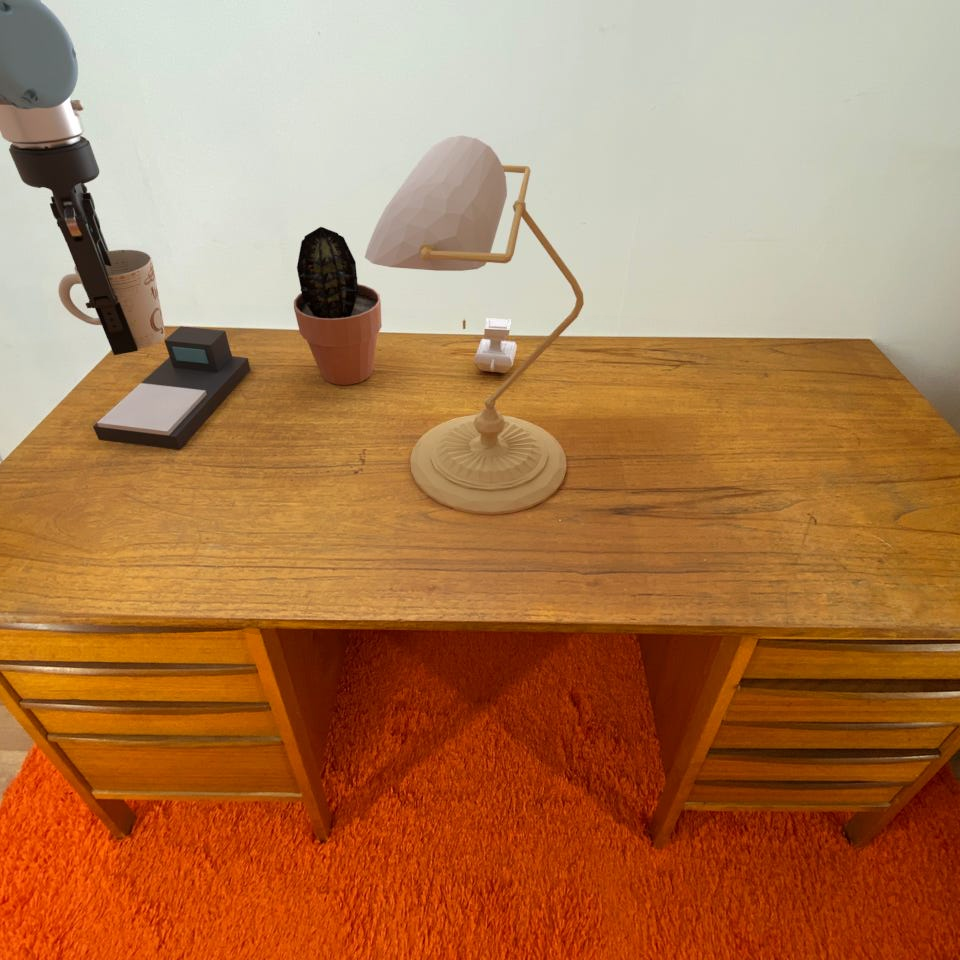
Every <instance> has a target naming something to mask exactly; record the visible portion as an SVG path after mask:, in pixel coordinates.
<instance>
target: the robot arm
mask: <svg viewBox="0 0 960 960" xmlns="http://www.w3.org/2000/svg"><path fill="white" fill-rule="evenodd" d="M78 76H79V63H78V59H77V53H76V51H75V47H74V44H73V41H72V38H71V36H70V34H69V32H68V30H67V29H66V27H65V25H64V24H63V22H62V21H61V20H60V18H58V16H57V15H56V14H55V13H54V11H52V10H51V9H50V7H48V6H46V4H44V3H43V2H42V1H41V0H0V134H1V137H2V138H3V139H4V140H5V141H7V142H8V143H11V144H10V146H9V148H8V151H9V154H10V156H11V159H12V161H13V163H14V165H15V168H16V170H17V173H18V175H19V178H20V179H21V181H22V182H23V183H24V184H25V185H27V186H29V187H32V188H36V189H42V188H45V189H48V190H50V191H51V192H52V195H51V196H50V200H51V202H50V203H49V206H50V209H51V212H52V215H53V217H54V219H55V220H56V226H57V227H58V228H59V230H60V232H61V234H62V236H63V238H64V241H65V243H66V245H67V247H68V250H69V253H70V255H71V258H72V261H73V263H74V267H75V266H76V268H77V271H78V273H79V276H80V278H81V281H82V283H83V286H84V288H85V289H84V288H83V289H84V291H85V293H86V295H87V298H88V302H85V306H86V308H87V309H95V312H96V314H97V318H99V319H100V322H101V324H102V325H101V327H102V329H103V331H104V334H105V337H106V339H107V342H108V343H109V346H110V349H111V351H112V354H113V356H118V355H124V354H129V353H135V352H138V350H139V349H138V348H137V345H136V343H135V340H134V338H133V335H132V333H131V330H130V328H129V325H128V323H127V320H126V318H125V315H124V312H123V310H122V307H121V305H120V303H119V302H117V301H118V298H117V296H115V293H114V291H113V288H112V286H111V283H110V281H109V278H108V276H109V275H108V272H107V269H106V266H105V265H108V266H112V265H111V263H110V260H109V257H108V254H107V251H110V250H109V247H108V245H107V242H106V239H105V237H104V234H103V231H102V229H101V223H100V219H99V217H98V214H97V212H96V205H95V201H94V199H93V195H92V194H91V192H88V187H87V186H86V185H85V184H87V183H90V182H92V181H94V180H96V179H97V178H98V177H99V176H100V168H99V165H98V162H97V158H96V156H95V154H94V150H93V147H92V146H91V142H90V141H89V139H87V138H86V137H84V136H82V135H83V134H84V132H85V127H84V124H83V121H82V117H81V115H80V113H79V112H81V111H83V110H84V109H85V106H84V104H83V102H82V101H81V100H80V99H72V97H73V93H74V91H75V88H76V86H77V82H78ZM83 286H82V287H83Z"/></svg>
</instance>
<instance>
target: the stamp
mask: <svg viewBox="0 0 960 960" xmlns="http://www.w3.org/2000/svg"><path fill="white" fill-rule="evenodd" d="M511 324H512V319H508V318H495V317H494V318H493V317H492V318H491V317H486V319H485V324H484V333H483V336H484V337H483V338H481V340H480V341H479V345H478V348H477V349H476V350H477V351H476V353H475V356H474V359H473V363H474V365H475V366H476V367H477V368H478V369H480V371H481V372H490V373H491V372H492V373H501V374H506V373H507V372H508V371H510V370H511V368H512V367H513V365H514V362H515V361H514V360H515V357H516V353H517V350H518V345H517V342H516V341H513V340H512V341H511V340H506V339H507V338H509V336H510V330H511V326H512V325H511Z"/></svg>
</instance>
